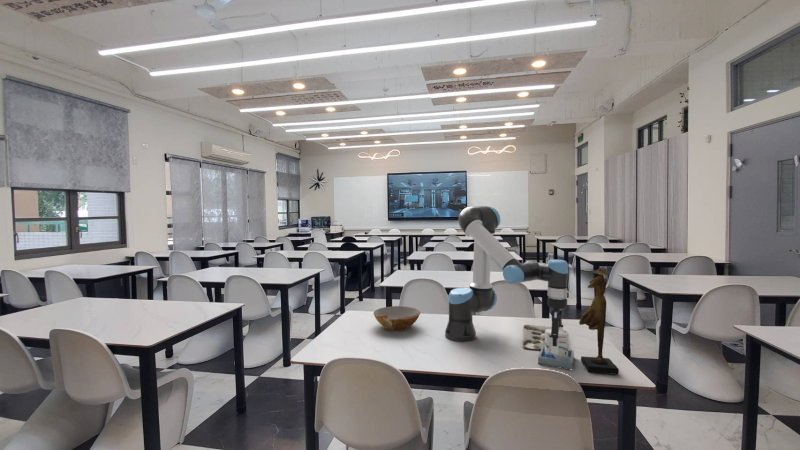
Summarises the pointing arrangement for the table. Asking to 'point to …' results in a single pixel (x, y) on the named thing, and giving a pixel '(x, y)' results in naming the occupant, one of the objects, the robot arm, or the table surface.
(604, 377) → the table surface
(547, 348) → the ink box
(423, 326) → the table surface
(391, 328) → the bowl
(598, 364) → the sculpture
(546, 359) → the tray
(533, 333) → the stone relief
